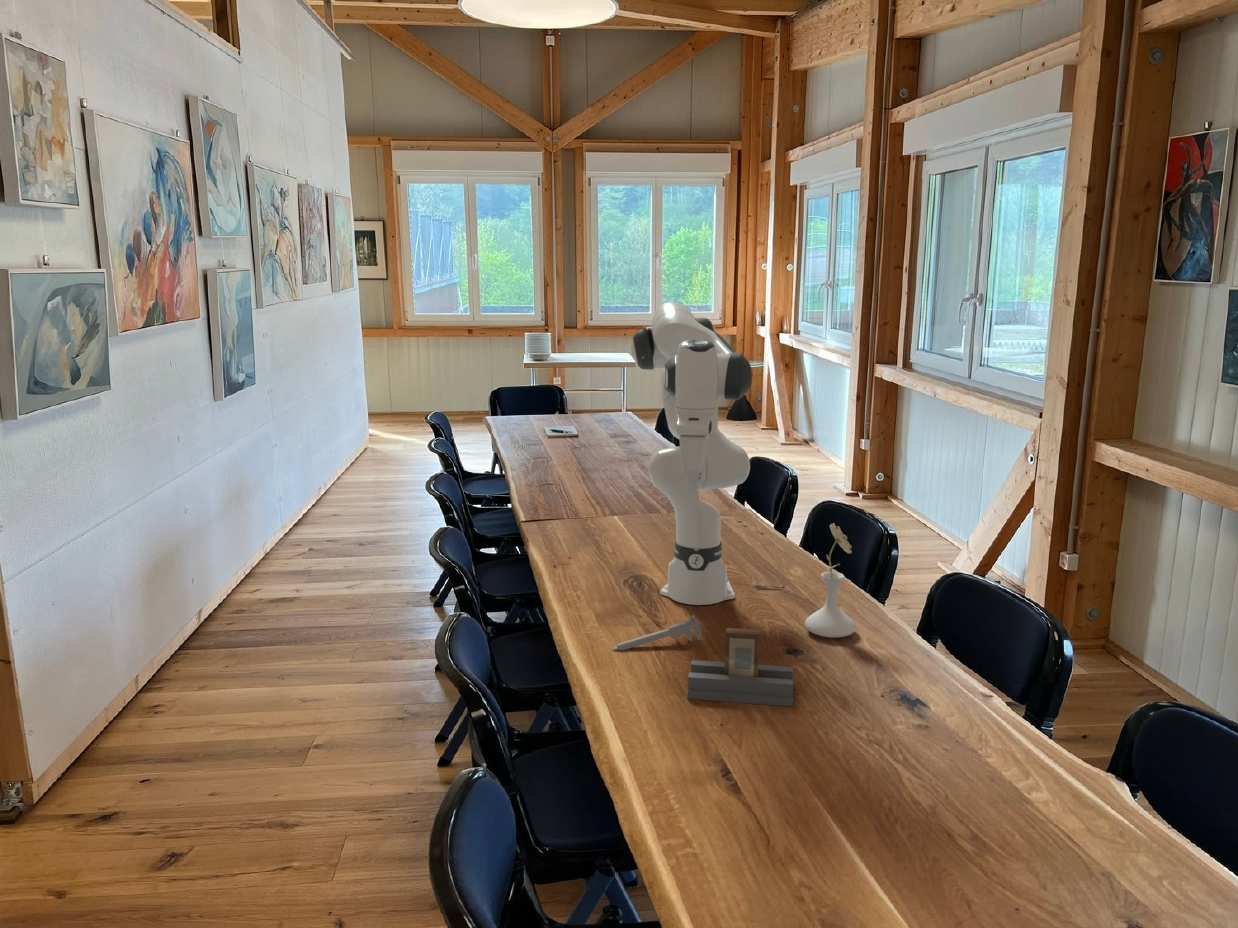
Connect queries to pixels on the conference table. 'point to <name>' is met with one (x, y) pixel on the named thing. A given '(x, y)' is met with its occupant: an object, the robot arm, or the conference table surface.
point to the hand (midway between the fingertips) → (695, 485)
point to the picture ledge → (740, 684)
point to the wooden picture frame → (741, 652)
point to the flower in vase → (832, 600)
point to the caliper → (664, 634)
